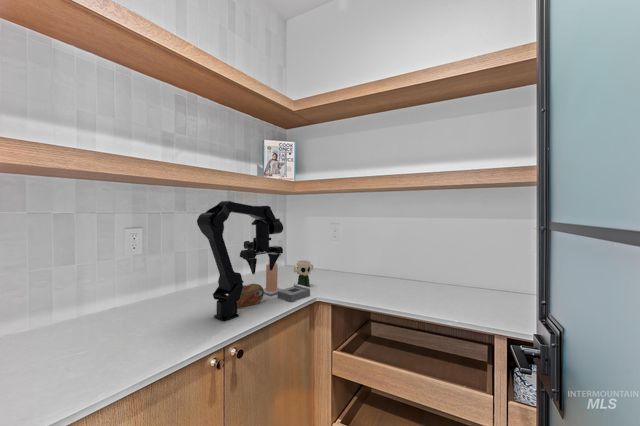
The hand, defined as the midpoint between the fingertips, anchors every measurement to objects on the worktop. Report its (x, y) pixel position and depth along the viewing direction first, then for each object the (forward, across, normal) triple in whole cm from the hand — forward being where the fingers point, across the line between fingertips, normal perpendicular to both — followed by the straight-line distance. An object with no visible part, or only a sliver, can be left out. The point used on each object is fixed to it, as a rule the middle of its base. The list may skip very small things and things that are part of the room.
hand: (262, 272), depth 116 cm
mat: (+13, -13, -9) cm, 20 cm away
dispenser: (+13, -15, +4) cm, 20 cm away
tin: (+13, +6, -3) cm, 15 cm away
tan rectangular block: (+12, -13, -9) cm, 20 cm away
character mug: (+14, -30, -4) cm, 33 cm away
